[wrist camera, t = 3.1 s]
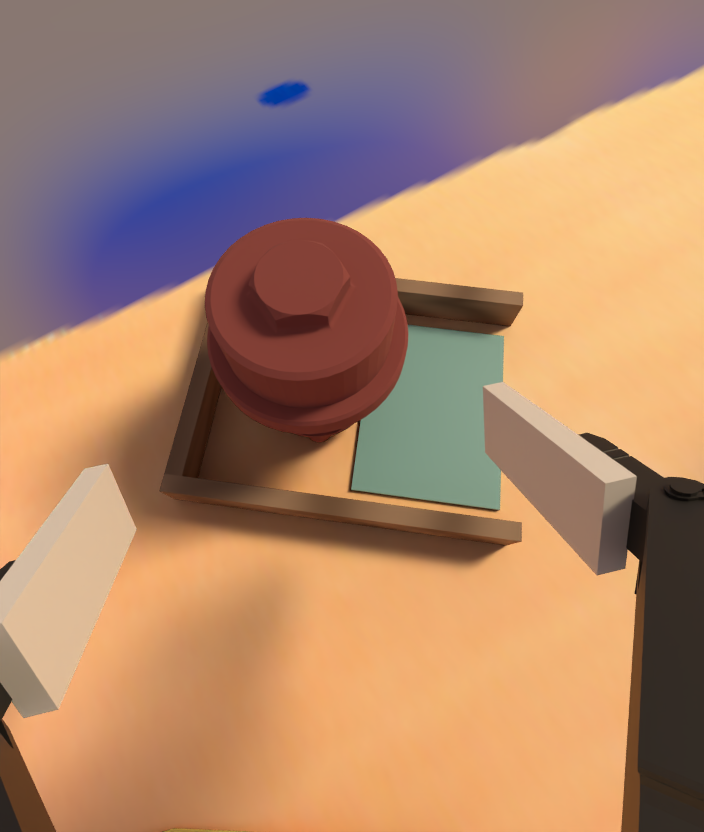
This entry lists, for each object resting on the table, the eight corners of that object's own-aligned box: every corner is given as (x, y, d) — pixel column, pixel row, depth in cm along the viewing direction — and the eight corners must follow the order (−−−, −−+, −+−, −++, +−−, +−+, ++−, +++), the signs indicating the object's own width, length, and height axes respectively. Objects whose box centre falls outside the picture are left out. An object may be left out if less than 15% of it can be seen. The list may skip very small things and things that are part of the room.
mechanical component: (215, 378, 31) (338, 305, 33) (295, 500, 28) (424, 412, 30) (133, 251, 19) (331, 151, 21) (256, 438, 16) (471, 301, 18)
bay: (510, 314, 32) (523, 292, 30) (506, 545, 27) (521, 541, 25) (234, 281, 33) (225, 258, 31) (175, 499, 28) (159, 491, 25)
